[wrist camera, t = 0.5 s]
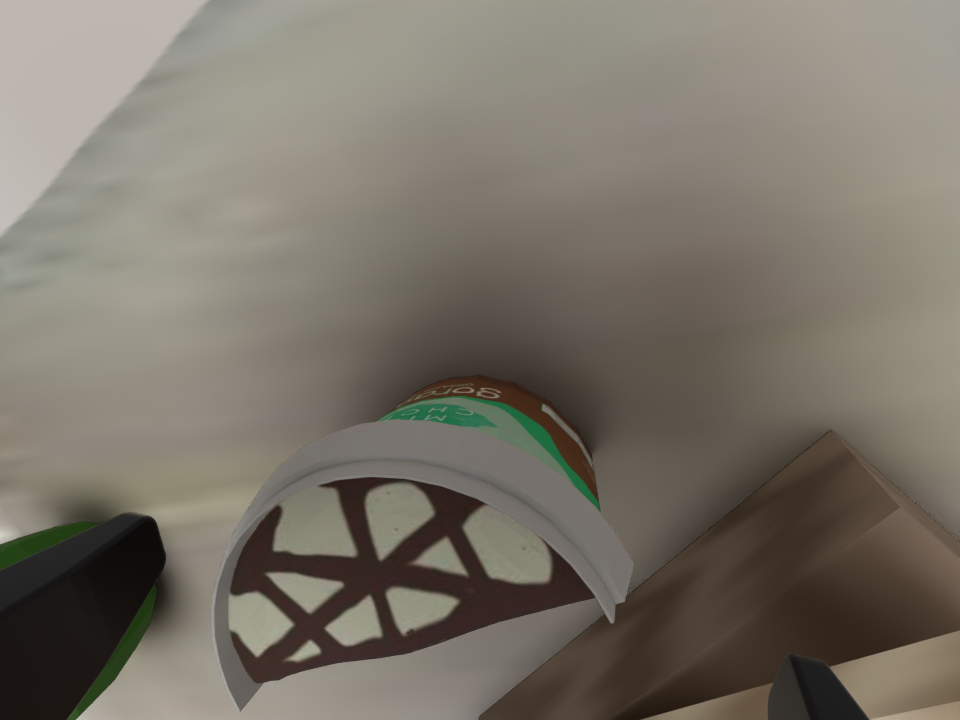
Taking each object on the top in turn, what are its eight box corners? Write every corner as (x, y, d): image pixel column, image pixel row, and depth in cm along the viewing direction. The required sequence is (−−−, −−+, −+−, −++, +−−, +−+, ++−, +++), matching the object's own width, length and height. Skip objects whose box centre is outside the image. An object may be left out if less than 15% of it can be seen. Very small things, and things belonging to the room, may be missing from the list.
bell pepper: (11, 531, 32) (-246, 677, 22) (115, 472, 29) (-127, 609, 20) (103, 659, 33) (-104, 850, 23) (211, 613, 30) (27, 807, 21)
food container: (564, 295, 22) (526, 374, 13) (628, 442, 23) (636, 618, 14) (297, 408, 26) (113, 534, 16) (361, 530, 27) (223, 716, 17)
